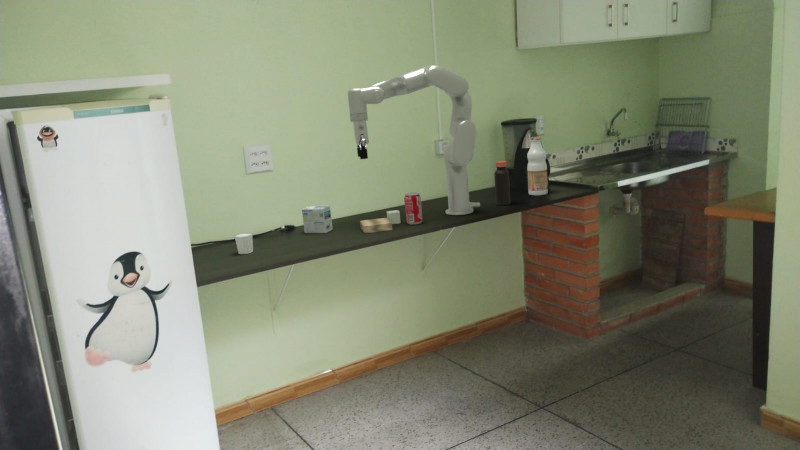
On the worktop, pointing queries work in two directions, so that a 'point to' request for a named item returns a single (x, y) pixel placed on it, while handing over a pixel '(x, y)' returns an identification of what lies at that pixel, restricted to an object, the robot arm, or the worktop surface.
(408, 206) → the soda can
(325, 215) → the light bulb box
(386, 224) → the slab
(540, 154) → the fruit juice
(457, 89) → the robot arm
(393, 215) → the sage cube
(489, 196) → the worktop surface
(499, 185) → the bottle
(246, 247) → the white cup
